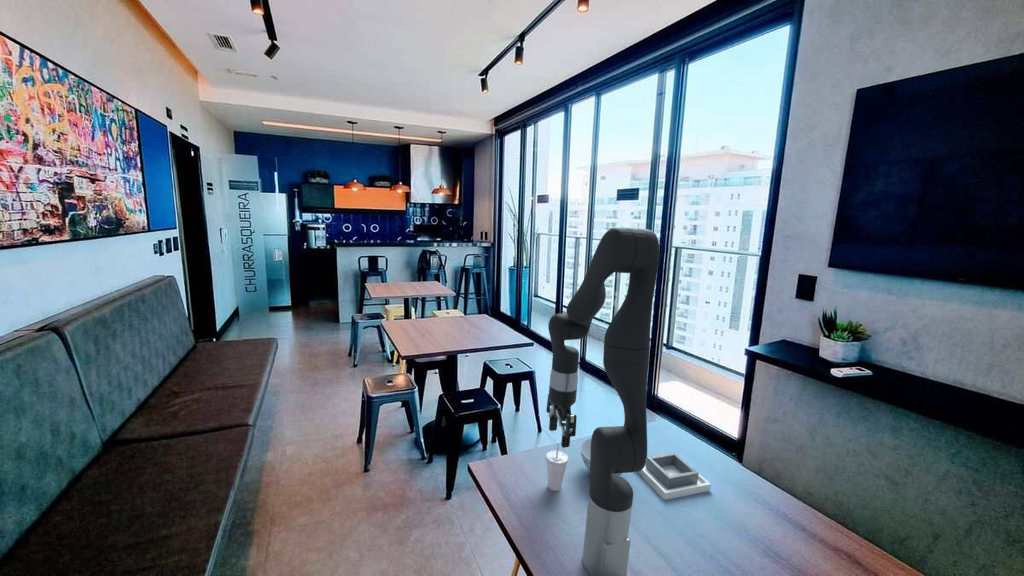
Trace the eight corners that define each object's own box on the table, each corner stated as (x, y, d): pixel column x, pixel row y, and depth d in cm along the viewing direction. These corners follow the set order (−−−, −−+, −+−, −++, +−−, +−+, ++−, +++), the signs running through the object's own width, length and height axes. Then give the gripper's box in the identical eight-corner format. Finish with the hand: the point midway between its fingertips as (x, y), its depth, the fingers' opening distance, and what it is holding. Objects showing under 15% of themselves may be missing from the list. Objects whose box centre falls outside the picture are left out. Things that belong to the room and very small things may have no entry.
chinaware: (624, 461, 130) (626, 439, 129) (632, 493, 116) (635, 469, 114) (577, 456, 132) (579, 435, 130) (579, 487, 117) (582, 463, 116)
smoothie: (541, 490, 115) (544, 445, 112) (546, 477, 121) (549, 434, 118) (563, 497, 113) (567, 451, 110) (567, 482, 119) (571, 439, 116)
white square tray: (710, 490, 118) (712, 476, 118) (664, 500, 114) (666, 485, 113) (675, 460, 132) (677, 447, 132) (633, 467, 128) (634, 454, 127)
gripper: (588, 394, 105) (582, 451, 108) (564, 372, 118) (560, 423, 122) (561, 397, 103) (556, 454, 106) (541, 374, 116) (537, 426, 119)
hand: (558, 438), depth 114 cm, fingers open, 8 cm apart
